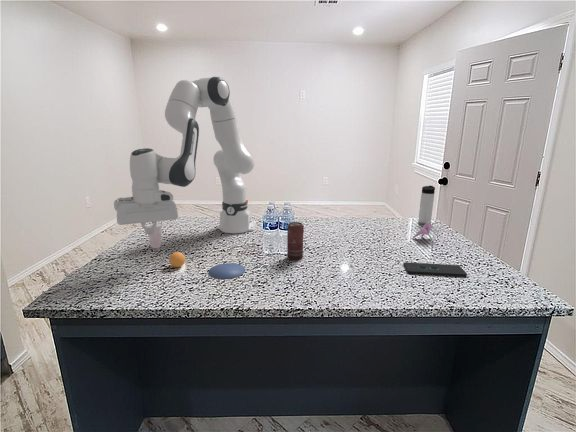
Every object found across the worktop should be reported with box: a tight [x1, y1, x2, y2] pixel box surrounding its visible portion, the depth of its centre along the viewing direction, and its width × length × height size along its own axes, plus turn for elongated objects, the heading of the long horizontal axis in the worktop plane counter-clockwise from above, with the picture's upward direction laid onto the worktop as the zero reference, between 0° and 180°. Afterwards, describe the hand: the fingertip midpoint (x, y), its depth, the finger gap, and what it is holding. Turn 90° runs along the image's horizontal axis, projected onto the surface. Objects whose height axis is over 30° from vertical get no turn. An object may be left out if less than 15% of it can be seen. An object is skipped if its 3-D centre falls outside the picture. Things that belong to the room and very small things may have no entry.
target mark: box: [207, 262, 246, 280], centre depth 121 cm, size 13×13×1 cm
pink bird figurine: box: [412, 221, 437, 243], centre depth 154 cm, size 12×12×10 cm
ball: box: [168, 251, 186, 268], centre depth 123 cm, size 6×6×6 cm
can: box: [286, 221, 305, 261], centre depth 131 cm, size 6×6×14 cm
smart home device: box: [403, 261, 468, 278], centre depth 123 cm, size 8×2×20 cm
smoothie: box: [145, 222, 163, 249], centre depth 142 cm, size 6×6×14 cm
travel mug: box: [417, 185, 436, 226], centre depth 178 cm, size 6×7×20 cm
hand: (149, 233), depth 122 cm, fingers closed
